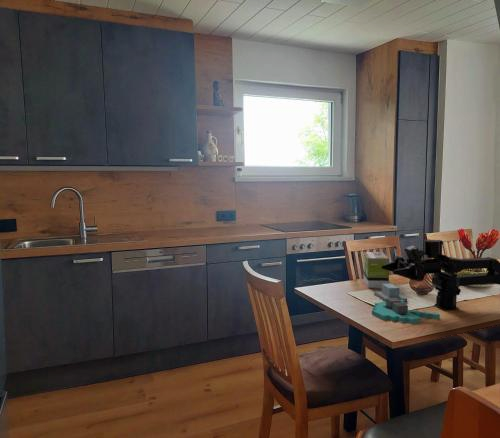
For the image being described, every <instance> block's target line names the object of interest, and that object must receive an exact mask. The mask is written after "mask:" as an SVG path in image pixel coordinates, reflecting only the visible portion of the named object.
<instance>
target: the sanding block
mask: <svg viewBox="0 0 500 438" xmlns="http://www.w3.org/2000/svg"><path fill="white" fill-rule="evenodd" d="M400 290H401V289H400V287H399V286H397V285H395V284H393V282H392V283H389V284H382V288H381V290H377V291H376V290H375V291H374V293H373V295H374V296H375V297H377V298H378V297H379V298H380V299H379V298H378V299H379V300H381V299H382V300H383V301H382V300H381V301H382V302H384V301H385V302H386V298H397V299H403V300H405V303H408V298H407V297H406V296H404V295H403V294H400Z"/></svg>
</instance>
